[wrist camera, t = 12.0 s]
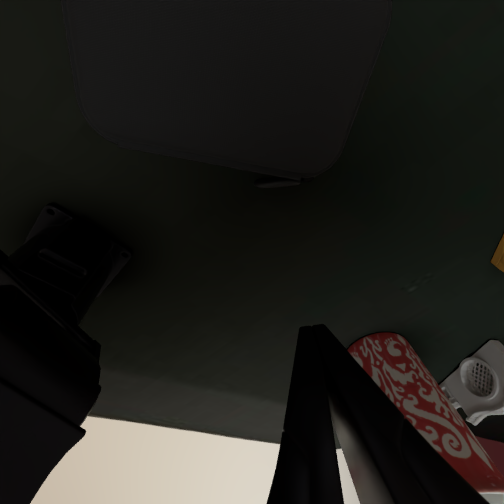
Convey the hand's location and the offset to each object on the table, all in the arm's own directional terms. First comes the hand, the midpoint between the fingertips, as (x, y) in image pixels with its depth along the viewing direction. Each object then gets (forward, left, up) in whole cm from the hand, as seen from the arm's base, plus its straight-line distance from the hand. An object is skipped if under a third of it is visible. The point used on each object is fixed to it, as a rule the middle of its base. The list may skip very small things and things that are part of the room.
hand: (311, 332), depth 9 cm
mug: (-7, -23, -12) cm, 27 cm away
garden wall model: (0, -34, -12) cm, 36 cm away
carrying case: (+3, +7, -12) cm, 14 cm away
